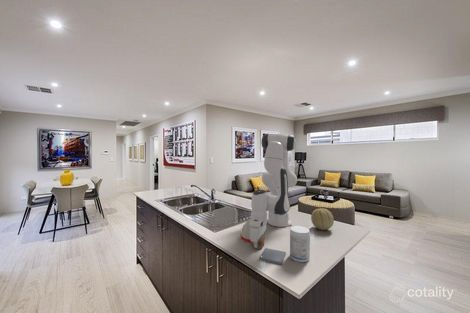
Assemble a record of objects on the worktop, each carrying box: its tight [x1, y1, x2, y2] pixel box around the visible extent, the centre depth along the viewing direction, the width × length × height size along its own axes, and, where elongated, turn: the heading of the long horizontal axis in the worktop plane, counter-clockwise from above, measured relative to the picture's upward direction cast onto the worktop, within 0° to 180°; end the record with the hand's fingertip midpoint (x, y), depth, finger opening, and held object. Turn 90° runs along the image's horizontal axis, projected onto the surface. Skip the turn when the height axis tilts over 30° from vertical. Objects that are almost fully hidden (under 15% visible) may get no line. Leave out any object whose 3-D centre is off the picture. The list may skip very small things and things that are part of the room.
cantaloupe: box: [310, 206, 335, 231], centre depth 141 cm, size 15×15×15 cm
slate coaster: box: [259, 247, 287, 266], centre depth 102 cm, size 11×11×1 cm
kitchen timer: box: [240, 218, 265, 244], centre depth 125 cm, size 14×14×15 cm
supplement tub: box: [289, 225, 311, 263], centre depth 101 cm, size 10×10×15 cm
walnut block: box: [252, 237, 265, 250], centre depth 113 cm, size 5×5×5 cm
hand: (258, 243), depth 113 cm, fingers open, 8 cm apart
